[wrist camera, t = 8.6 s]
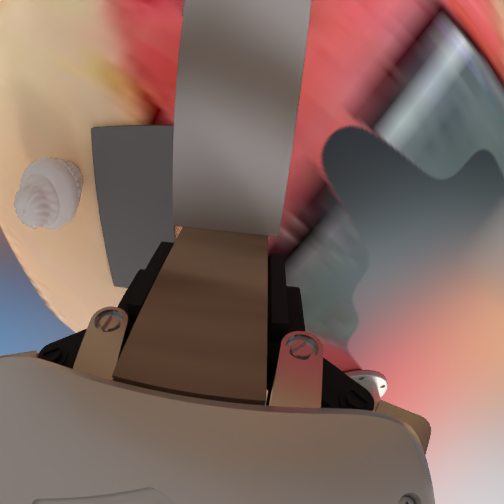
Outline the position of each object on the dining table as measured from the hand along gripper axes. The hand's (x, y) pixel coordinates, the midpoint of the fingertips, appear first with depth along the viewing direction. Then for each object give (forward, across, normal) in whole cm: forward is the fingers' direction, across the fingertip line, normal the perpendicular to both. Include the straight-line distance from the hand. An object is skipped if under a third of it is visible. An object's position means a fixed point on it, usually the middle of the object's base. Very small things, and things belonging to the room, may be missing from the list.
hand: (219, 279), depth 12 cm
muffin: (+12, +16, 0) cm, 19 cm away
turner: (+2, 0, -6) cm, 6 cm away
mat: (+12, +9, +3) cm, 15 cm away
